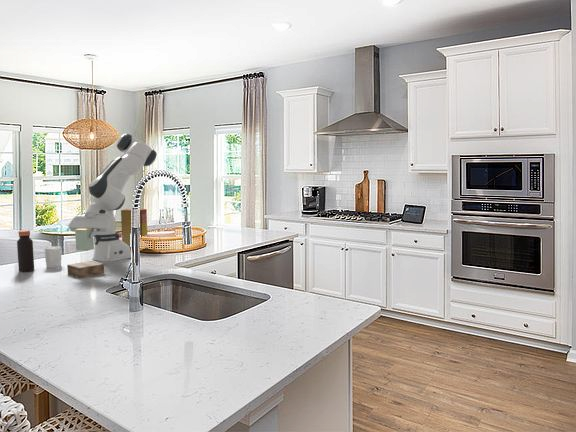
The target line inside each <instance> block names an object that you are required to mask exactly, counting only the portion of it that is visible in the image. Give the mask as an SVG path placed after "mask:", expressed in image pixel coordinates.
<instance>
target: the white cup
mask: <svg viewBox="0 0 576 432" xmlns="http://www.w3.org/2000/svg"><path fill="white" fill-rule="evenodd" d="M43 249H44V259H45V266H46V268H47V267H48V269H52V268H53V269H55V267H56V268H60V267H61V266H62V246H59V245H57V246H52V245H51V246H47V247H44V248H43Z"/></svg>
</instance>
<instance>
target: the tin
mask: <svg viewBox="0 0 576 432" xmlns="http://www.w3.org/2000/svg"><path fill="white" fill-rule="evenodd" d="M74 232H75V233H74V234H75V235H74V236H75V237H74V238H75V250H76V251H81V252H83V251H84V252H85V251H91V250H94V249H95V244H94V237H93V238H89V234H91V233H92V232H93V228H80V229H75V231H74Z"/></svg>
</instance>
